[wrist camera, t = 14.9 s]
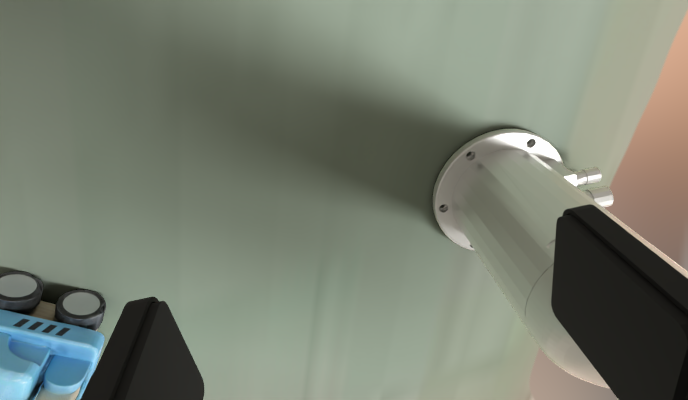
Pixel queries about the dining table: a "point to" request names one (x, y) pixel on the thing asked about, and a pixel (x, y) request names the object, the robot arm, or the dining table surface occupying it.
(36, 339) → the toy excavator
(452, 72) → the dining table surface
